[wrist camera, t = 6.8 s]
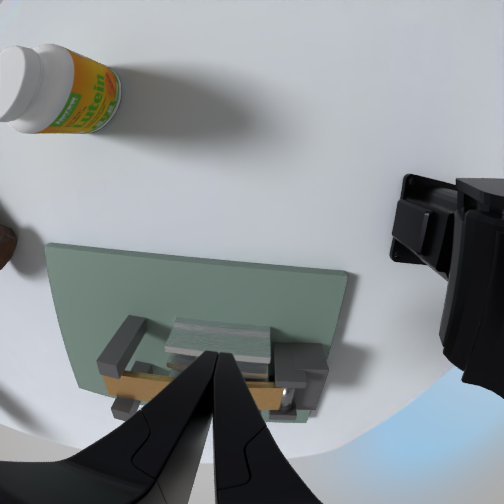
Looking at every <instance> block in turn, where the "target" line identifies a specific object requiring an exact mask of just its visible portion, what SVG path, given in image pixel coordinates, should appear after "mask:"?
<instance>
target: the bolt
mask: <svg viewBox="0 0 504 504" xmlns="http://www.w3.org/2000/svg"><path fill="white" fill-rule="evenodd" d="M16 244H17V236H16V235H15V234H14V232H13V231H12V230H11V229H10V228H7V227H4V226H1V225H0V270H1V269H2V268H3V267H4V266H5V265H6V264H7V262H8V261H9V260H10V258H11V257H12V255H13V253H14V250H15V248H16Z"/></svg>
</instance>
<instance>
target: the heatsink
mask: <svg viewBox="0 0 504 504" xmlns="http://www.w3.org/2000/svg"><path fill="white" fill-rule="evenodd" d="M206 350H209V351H217V352H218V353H220V352H226V353H232V354H233V356H234V358H235V360H236V362H237V364H238V367H239V369H240V371H241V373H242V375H243V377H244V380H245V382H265V379H267V377H268V363H269V364H270V359H271V352H270V326H258V325H246V324H236V323H226V322H216V321H207V320H199V319H191V318H183V317H176V319H175V321H174V327H173V329H172V331H171V333H170V335H169V337H168V340H167V342H166V344H165V352H170V355H169V357H168V360H167V362H166V364H167V368H171V371H170V374H169V376H171V377H177V376H178V375H179V374H180V373H181V372H182V371H183V370H185V369H186V368H187V367H188V366H189V365H190V364H191V363H192V362H193V361H194V360H195V359H197V358H198V357H199V356H200V355H201V354H202V353H203V352H204V351H206ZM259 411H260V413H261V410H259Z"/></svg>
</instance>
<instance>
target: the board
mask: <svg viewBox="0 0 504 504" xmlns="http://www.w3.org/2000/svg"><path fill="white" fill-rule="evenodd" d="M44 251H45V258H46V265H47V271H48V276H49V282H50V287H51V292H52V297H53V301H54V306H55V310H56V314H57V318H58V322H59V326H60V330H61V334H62V337H63V341H64V344H65V348H66V351H67V354H68V357H69V360H70V363H71V366H72V369H73V372H74V375H75V378H76V381H77V383H78V386H79V388H82V389H85V390H88V391H91V392H94V393H98V394H101V395H105V396H108V397H112V398H116V397H117V396H112V395H108V391H107V388H106V385H105V382H104V378H103V375H100V373H99V370H98V366H97V362H96V360H97V359H98V357H99V356H100V354H101V353H102V352H103V350H104V349H105V347H106V346H107V344H108V343H109V342H110V340H111V339H112V337H113V336H114V334H115V333H116V332H117V330H118V329H119V328H120V326H121V325H122V323H123V322H124V321H125V319H126V318H127V316H128V315H133V316H139V317H145V318H146V324H147V331H146V333H145V335H144V337H143V338H142V340H141V342H140V344H139V345H138V347H137V349H136V351H135V352H134V354H133V356H132V358H131V360H130V361H129V363H128V365H127V367H126V368H125V370H127V371H130V370H131V369H132V367H133V365H134V363H135V361H140V362H145V363H150V364H152V370H153V374H154V375H162V376H169V374H170V371H171V368H167V364H166V362H167V360H168V357H169V355H170V352H165V344H166V342H167V340H168V337H169V335H170V333H171V331H172V329H173V327H174V321H175V319H176V317H183V318H191V319H199V320H207V321H216V322H226V323H236V324H246V325H258V326H270V352H271V359H270V364H269V363H268V377H267V379H265V382H268V378H269V376H275V369H274V342H283V343H291V342H301V343H322V346H323V350H324V354H325V357H326V361H327V357H328V354H329V350H330V347H331V343H332V340H333V336H334V332H335V328H336V325H337V321H338V317H339V313H340V309H341V305H342V300H343V296H344V292H345V288H346V283H347V279H348V276H347V274H346V273H345V271H339V270H327V269H316V268H304V267H292V266H281V265H270V264H259V263H248V262H237V261H226V260H215V259H205V258H194V257H184V256H174V255H164V254H154V253H144V252H134V251H124V250H114V249H105V248H95V247H86V246H77V245H68V244H59V243H49V244H47V245H45V246H44ZM147 403H148V402H147V401H141V403H140V405H146V404H147ZM296 411H297V417H296V420H269V410H261V415H262V417H263V419H264V421H265V422H282V423H306V422H307V420H308V417H309V414H310V411H311V410H296ZM212 417H213V415H212Z"/></svg>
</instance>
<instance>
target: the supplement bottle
mask: <svg viewBox="0 0 504 504" xmlns="http://www.w3.org/2000/svg"><path fill="white" fill-rule="evenodd" d="M120 99H121V83H120V80H119V77H118V76H117V74H116V73H115V72H114V71H113V70H112V69H110V68H109V67H107V66H105V65H103V64H101V63H98V62H96V61H94V60H92V59H89V58H87V57H85V56H83V55H80V54H78V53H76V52H73V51H71V50H69V49H67V48H64V47H62V46H59V45H55V44H44V45H40V46H37V47H35V48H33V49H30V48H25V47H21V46H11V47H8V48H6V49H5V50H3V51H2V52H1V53H0V122H8V123H9V125H10V126H11V127H12V128H13V129H14V130H16V131H18V132H21V133H28V134H37V133H73V134H86V133H91V132H95V131H97V130H99V129H101V128H102V127H104V126H105V125H106V124H107V123H108V122H109V121H110V120H111V119H112V117H113V116H114V114H115V113H116V111H117V109H118V106H119V103H120Z"/></svg>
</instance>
